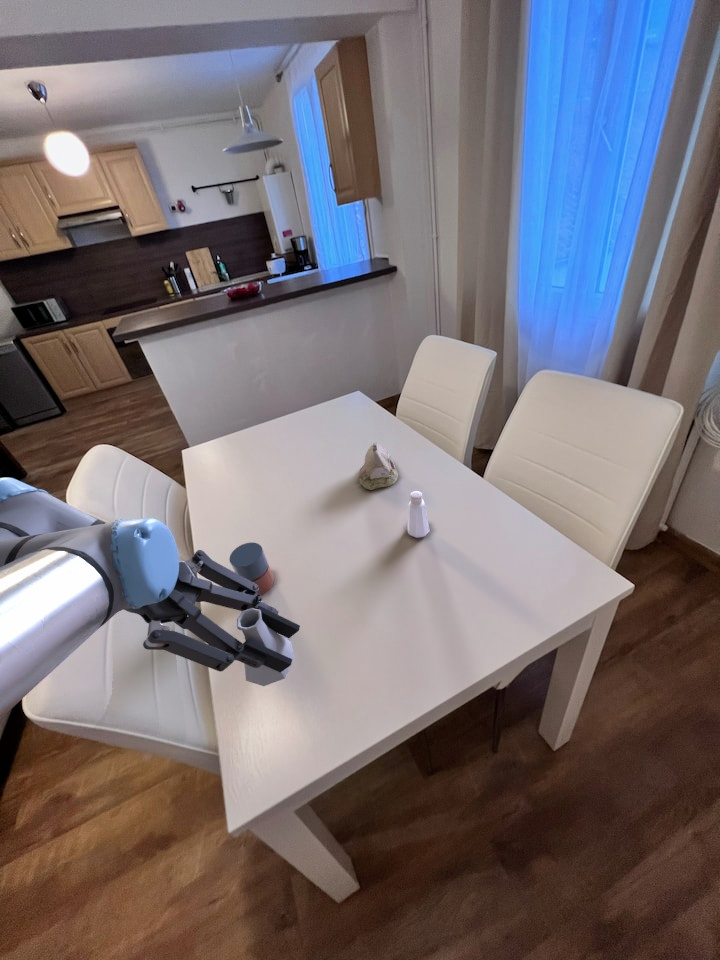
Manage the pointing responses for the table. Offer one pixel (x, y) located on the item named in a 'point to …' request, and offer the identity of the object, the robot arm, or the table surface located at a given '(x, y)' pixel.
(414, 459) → the table surface
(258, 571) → the cup stack
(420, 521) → the pepper shaker
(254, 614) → the flask
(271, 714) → the table surface
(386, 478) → the ceramic model
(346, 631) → the table surface
